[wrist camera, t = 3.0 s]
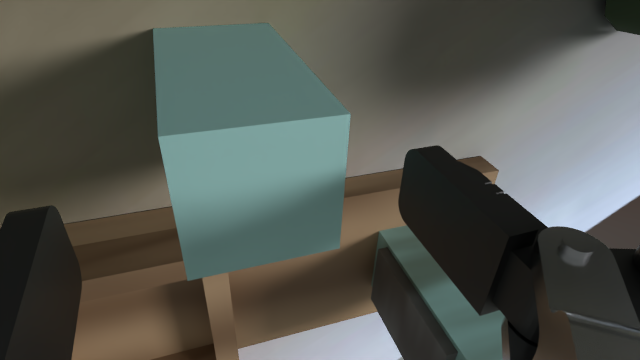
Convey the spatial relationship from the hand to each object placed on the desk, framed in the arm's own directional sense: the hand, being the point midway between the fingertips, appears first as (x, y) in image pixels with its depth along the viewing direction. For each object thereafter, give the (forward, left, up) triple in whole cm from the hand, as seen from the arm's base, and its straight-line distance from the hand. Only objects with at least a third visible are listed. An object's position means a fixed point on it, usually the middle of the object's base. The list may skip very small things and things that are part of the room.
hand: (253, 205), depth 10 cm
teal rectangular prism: (0, 0, -8) cm, 8 cm away
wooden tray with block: (+10, +2, -8) cm, 13 cm away
